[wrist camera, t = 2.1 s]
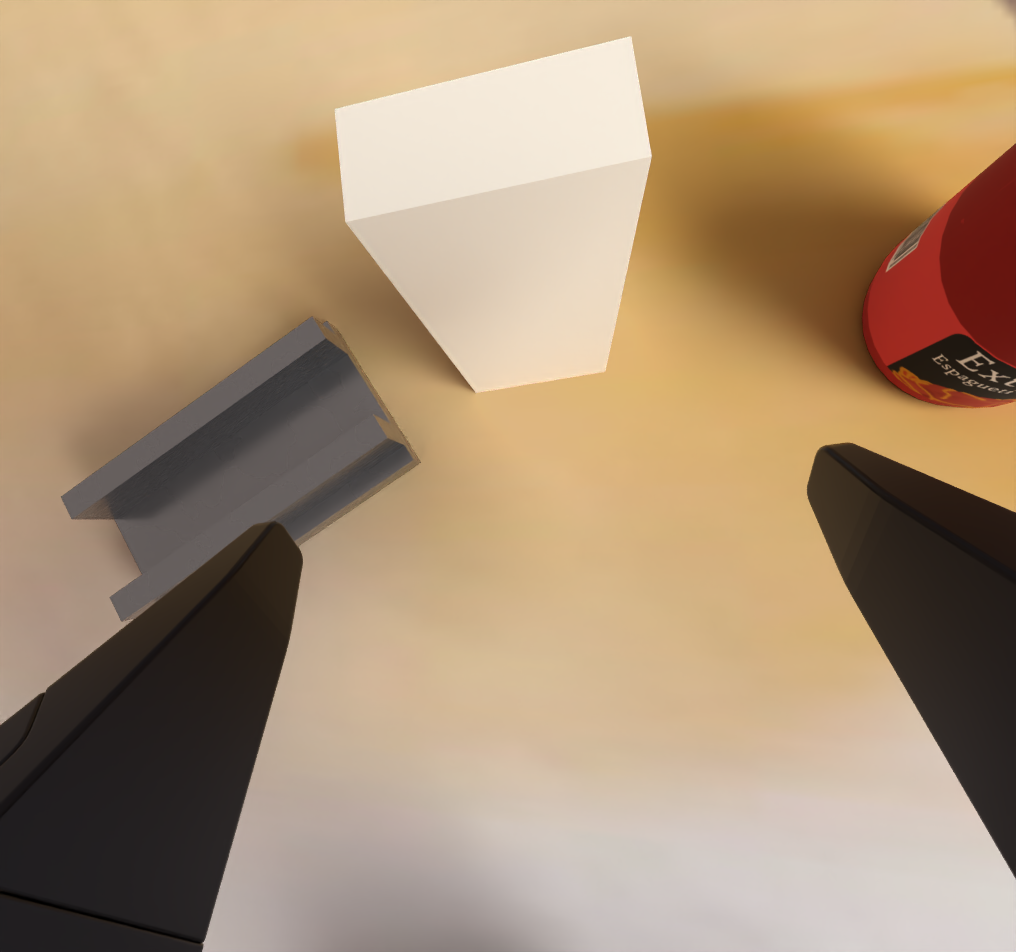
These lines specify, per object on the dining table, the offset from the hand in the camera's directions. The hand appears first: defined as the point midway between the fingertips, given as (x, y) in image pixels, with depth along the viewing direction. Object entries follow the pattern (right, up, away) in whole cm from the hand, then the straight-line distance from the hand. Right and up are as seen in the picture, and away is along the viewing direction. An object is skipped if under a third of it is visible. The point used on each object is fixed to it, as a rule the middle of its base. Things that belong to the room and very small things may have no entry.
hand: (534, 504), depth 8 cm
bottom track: (-13, +1, +15) cm, 20 cm away
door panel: (+1, +6, +14) cm, 15 cm away
